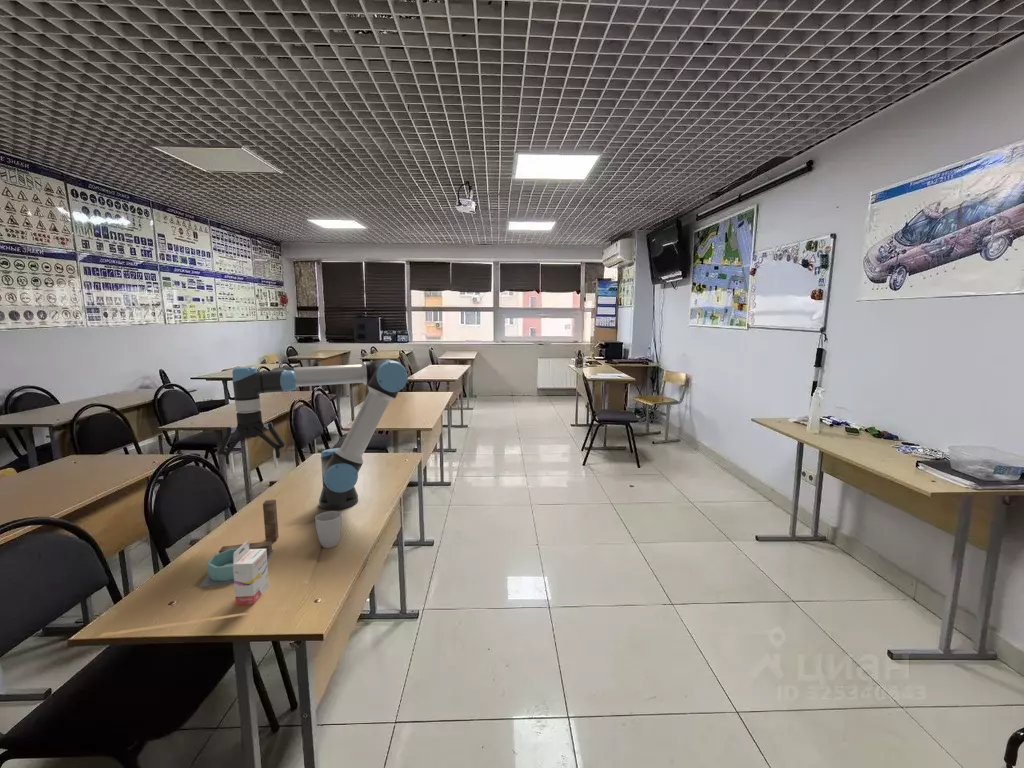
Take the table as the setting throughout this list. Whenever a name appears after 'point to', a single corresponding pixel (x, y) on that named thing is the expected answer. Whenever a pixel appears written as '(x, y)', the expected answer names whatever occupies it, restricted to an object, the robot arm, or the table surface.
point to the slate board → (210, 582)
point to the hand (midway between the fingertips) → (254, 469)
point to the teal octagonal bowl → (222, 566)
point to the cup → (328, 528)
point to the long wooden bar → (251, 546)
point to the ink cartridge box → (249, 574)
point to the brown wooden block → (270, 520)
